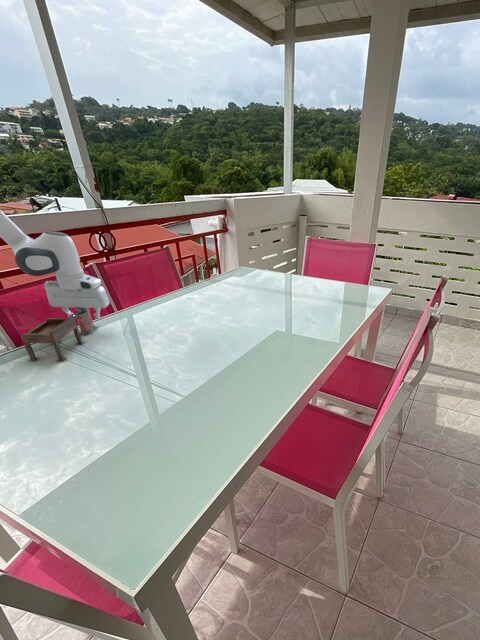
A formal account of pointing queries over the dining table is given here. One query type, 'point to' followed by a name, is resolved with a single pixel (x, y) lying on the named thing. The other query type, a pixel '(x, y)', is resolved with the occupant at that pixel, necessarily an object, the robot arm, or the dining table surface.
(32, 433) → the dining table surface
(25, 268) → the robot arm
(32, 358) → the stand
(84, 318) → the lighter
